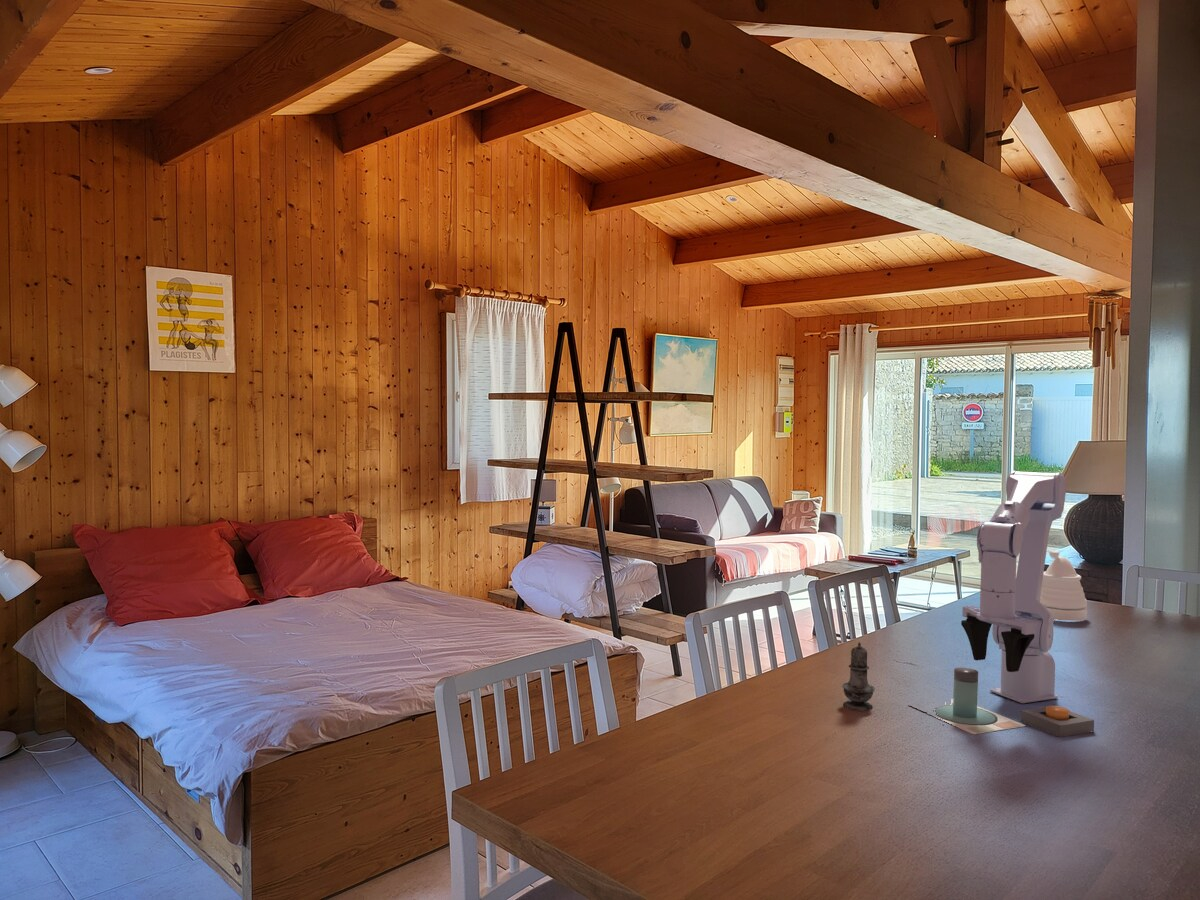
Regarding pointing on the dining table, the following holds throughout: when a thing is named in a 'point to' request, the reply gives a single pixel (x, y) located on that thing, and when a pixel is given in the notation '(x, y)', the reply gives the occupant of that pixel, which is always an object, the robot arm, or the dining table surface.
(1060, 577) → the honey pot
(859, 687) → the salt shaker
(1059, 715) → the button
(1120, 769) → the dining table surface
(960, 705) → the green capped cylinder
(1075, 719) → the button housing
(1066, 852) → the dining table surface
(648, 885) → the dining table surface
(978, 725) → the picture sheet
